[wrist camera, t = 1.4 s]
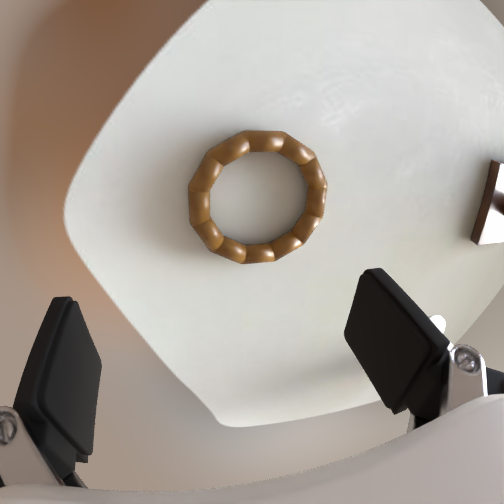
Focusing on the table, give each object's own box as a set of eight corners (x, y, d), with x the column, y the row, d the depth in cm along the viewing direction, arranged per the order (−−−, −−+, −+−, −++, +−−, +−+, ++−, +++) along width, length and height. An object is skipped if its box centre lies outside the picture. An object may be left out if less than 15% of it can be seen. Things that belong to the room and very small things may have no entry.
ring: (186, 130, 15) (187, 133, 14) (327, 133, 17) (336, 136, 16) (192, 261, 19) (193, 272, 18) (312, 252, 21) (319, 260, 20)
